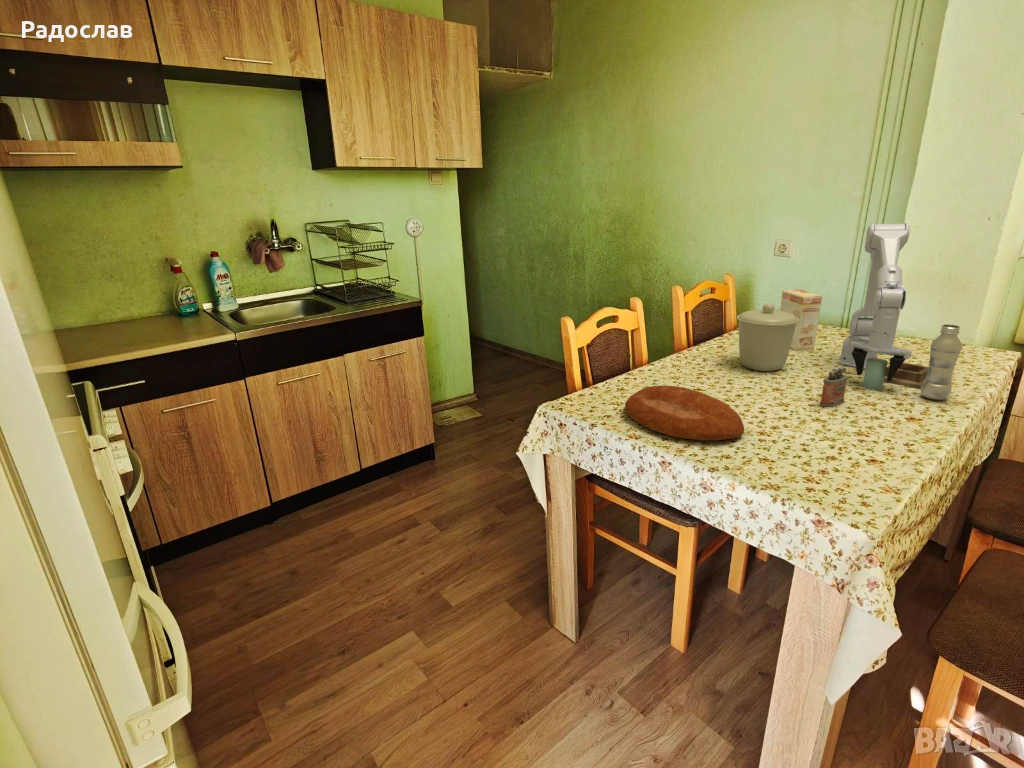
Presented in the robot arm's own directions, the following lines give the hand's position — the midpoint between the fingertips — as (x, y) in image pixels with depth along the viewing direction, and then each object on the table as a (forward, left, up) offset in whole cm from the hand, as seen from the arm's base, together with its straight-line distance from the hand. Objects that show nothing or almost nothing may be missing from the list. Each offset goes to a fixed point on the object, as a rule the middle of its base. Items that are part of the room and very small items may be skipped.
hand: (874, 377), depth 150 cm
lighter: (-2, -21, -3) cm, 21 cm away
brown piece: (+4, +14, -3) cm, 15 cm away
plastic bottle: (+14, +2, -3) cm, 15 cm away
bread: (-22, -60, -3) cm, 64 cm away
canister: (-31, -4, -3) cm, 31 cm away
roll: (0, 0, -3) cm, 3 cm away
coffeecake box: (-36, +28, -3) cm, 46 cm away
